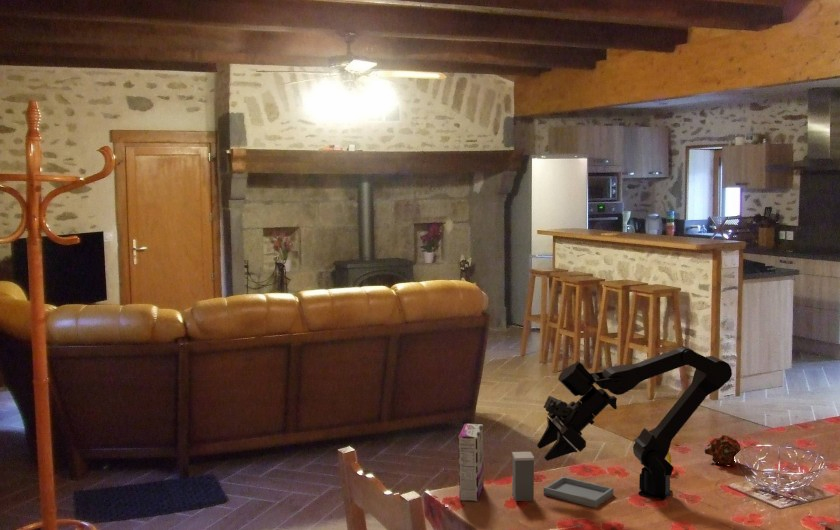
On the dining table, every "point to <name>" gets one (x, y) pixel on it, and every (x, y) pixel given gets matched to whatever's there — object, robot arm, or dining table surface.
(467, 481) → the candy bar box
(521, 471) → the grey tall block
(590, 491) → the tray
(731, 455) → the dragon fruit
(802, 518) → the dining table surface
